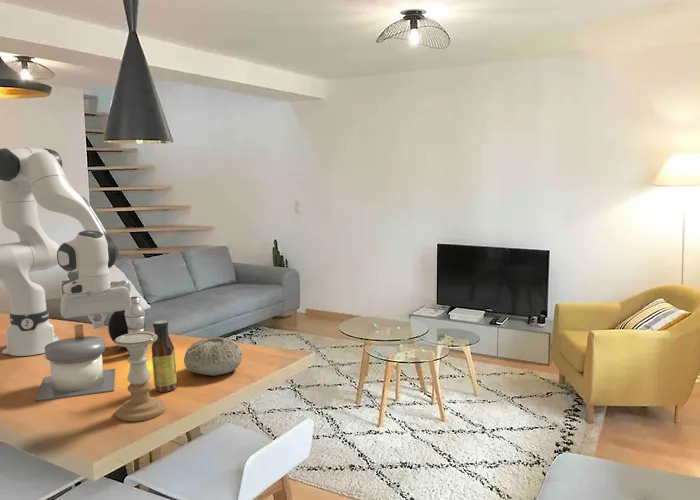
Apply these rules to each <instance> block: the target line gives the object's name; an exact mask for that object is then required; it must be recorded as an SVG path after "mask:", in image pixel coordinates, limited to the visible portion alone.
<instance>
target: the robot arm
mask: <svg viewBox="0 0 700 500" xmlns="http://www.w3.org/2000/svg"><path fill="white" fill-rule="evenodd" d="M38 205H39V206H40V207H42V209H44V210H47V211H48V212H49V211H50V212H52V213H57V214H61V215H66V216H69V217H71V218H74V219H75V220H77V221H78V223H80V224H81V226H82V228H83V229H84V230H82V231H79V232H78V233H77V234H76V237H74V238H73V239H71V240H68V241H66V242H63V243H61V245H59V244H58V243H57V242H56V241H55V240H53V239H51V238H50V237H49V236H48V235H47V234H46V232H45V231H44V229H43V227H42V225H41V221H40V217H39V216H40V215H39V211H38ZM0 215H1V223H2V224H3V226H4V227H5V228H6V229H8V230H9V231H12V232H15V233H16V234H17V236H18V238H19V241H15V242H8V243H1V244H0V282H1V283H2V284H3V285H4V287H5V289H6V291H7V294H8V300H9V306H10V307H9V308H10V313H9V324H11V325H10V326H9V327H7V329H6V332H5V333H6V335H5V337H6V348H4V349H2V351H1V353H2V355H9V356H10V355H11V356H13V357H24V356H25V357H26V356H28V357H29V356H35V355H40V354H45V346H46V345H48V344H50V343H52V342H55V341H58V340H60V339H59V336H57V334H56V333H55V331H54V330H55V329H54V325H53V324H52V323H51V322H50V320H49V319H50V318H49V317H50V316H49V315H50V314H49V310H48V309H47V301H46V291H45V289H44V287H43V286H42V285H41V284H39V283H37V282H33V281H31V279H30V277H29V273H33V272H39V271H45V270H48V269H50V268H53V267H56V266H57V265H59V266H60V268H61V269H62V270H64V271H66V272H69V273H70V272H71V273H72V272H73V273H74V272H76V273H77V272H78V278H77V279H75V280H73V281H71V282H67V283H66V284H64V285H62V290H63V294H62V295H61V298H60V306H59V307H60V309H59V310H60V311H59V312H60V316H61V317H62V318H64V319H73V318H80V317H81V318H82V317H87V318H88V320H90V322H91V324H92V329H93V330H96V329H102V328H104V327H105V323H104V322H105V320H106V319H107V317H108V313H114V312H115V311H122V310H129V309H130V308H131V306H132V303H131V297H132V296H131V291H132V289H131V284H130V283H129V282H128V281H126V280H120V281H117V280H116V281H111V272H110V268H112V267H113V266H114V265H115V264H116V262H117V261H118V259H119V256H120V251H119V247H118V245H117V243H116V242H115V241H114V240H113V238H112V237H111V236H110V235H109V234H108V232H107V230H106V229H105V227H104V226H103V224H102V222H101V220H100V219H99V217H98V216H97V213H96V212H95V210H94V208H93V207H92V205H91V204H90V203H89V201H88V200H87V199H86V198H85V197H84V196H82V195H80V194H79V193H78V192H77V191H76V190H75V189H74V188H73V187H72V185H71V184H70V182H69V181H68V178H67V176H66V173H65V172H64V169H63V161H62V158H61V156H60V154H59V153H58V152H57V151H56V150H54V149H51V148H50V149H49V148H39V147H17V148H16V147H14V148H5V147H4V148H0ZM95 315H100V316H101V319H100V320H99V321H95V320H94V319H95Z"/></svg>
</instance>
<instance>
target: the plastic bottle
mask: <svg viewBox="0 0 700 500" xmlns="http://www.w3.org/2000/svg"><path fill="white" fill-rule="evenodd" d="M130 297H131V303H132V306H131V308H130V309H129V310H126V311H125V318H126V323H127V328H128V334H129V333H137V332H146V330H145V331H144V321H145V317H146V311H145V309H144V307H143V306H142V305H141V304H140V303H141V299H140V296H130ZM126 350H127V353H128V354H129V355H130V351H129V350H128V349H127V348H126ZM147 351H148V345H147V347H146V348H145V350H144V354H145V355H146V353H147Z"/></svg>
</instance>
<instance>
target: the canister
mask: <svg viewBox="0 0 700 500" xmlns="http://www.w3.org/2000/svg"><path fill="white" fill-rule="evenodd" d="M103 363H104V362H103V353H102V354H100V355H98V356H95V357H92V358H88V359H84V360H78V361H70V362H55V361H49V368H50V376H45V377H44V378H43V382H42V383H41V385H40V386H41V387H40V389H39V391H38V394H37V395H36V398H35V402H42V401H50V400H57V399H64V398H70V397H71V398H72V397H78V396H79V397H80V396H89V395H95V394H103V393H110V392H111V393H112V392H115V377H116V368H108V369H107V368H106V369H104V365H103Z"/></svg>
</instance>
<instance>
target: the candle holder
mask: <svg viewBox="0 0 700 500" xmlns="http://www.w3.org/2000/svg"><path fill="white" fill-rule="evenodd" d="M157 338H158V336H157V335H156V334H155V332H149V331H145V332H137V333H129V334H125V335H122V336H119V337H117V338H116V339H115V343H114V344H115V345H116V346H118V347H119V346H121V347H120V348H122V347H126V348H125V349H126V350H127V349H128V350H129V351H130V354H129V357H128V358H127V363H129V371H128V374H127V382H129V383H130V384H129V385H128V386H127V388H126V389H127V391H128V392H129V393H130V398H129V399H128V400H126V401H124V403H122V404H121V405H119V406H118V407H117V408H116V410H115V416H116V418H117V419H118V420H120V421H123V422H142V421H148V420H151V419H154V418H156V417H158V416H161V415H162V414H163V413H164V412H165V410H166V403H165V402H164V401H163V400H161V399H158V398H156V397H154V396H150V390H151V388H152V384H151V383H150V382H149V381H150V379H151V375H150V372H149V369H148V367H147V361H148V360H149V357H148V356H147V354H146V353H145V354H144V350H145V348H146V347H147V346H148V345H152V344H153V342H155V341H156V340H157ZM147 348H148V347H147ZM128 350H127V351H128Z"/></svg>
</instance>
